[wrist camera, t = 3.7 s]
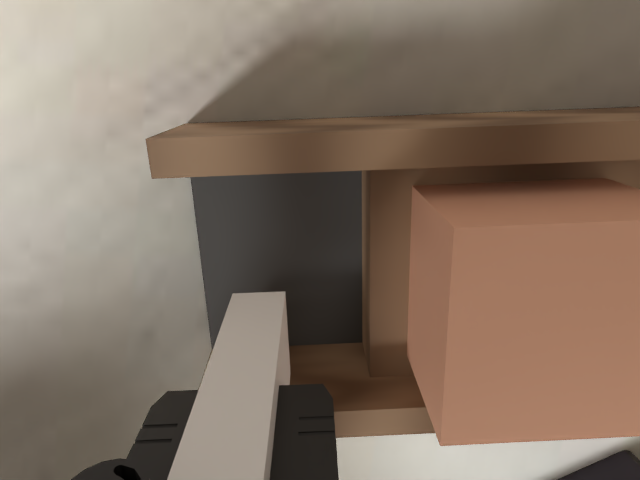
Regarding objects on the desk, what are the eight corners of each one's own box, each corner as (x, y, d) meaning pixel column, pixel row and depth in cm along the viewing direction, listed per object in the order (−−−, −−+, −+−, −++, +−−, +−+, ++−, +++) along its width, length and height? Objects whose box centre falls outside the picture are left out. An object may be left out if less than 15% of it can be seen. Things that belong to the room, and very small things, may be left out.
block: (406, 354, 19) (440, 446, 14) (412, 185, 17) (453, 227, 12) (577, 347, 19) (666, 434, 15) (605, 178, 17) (722, 216, 12)
